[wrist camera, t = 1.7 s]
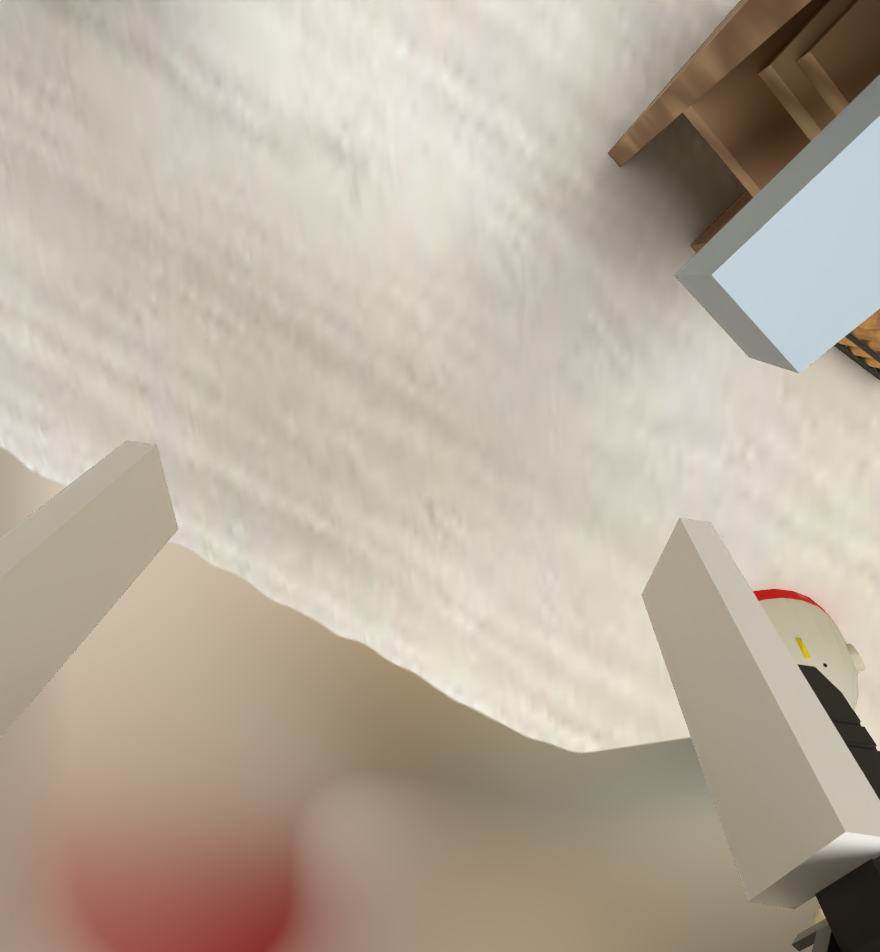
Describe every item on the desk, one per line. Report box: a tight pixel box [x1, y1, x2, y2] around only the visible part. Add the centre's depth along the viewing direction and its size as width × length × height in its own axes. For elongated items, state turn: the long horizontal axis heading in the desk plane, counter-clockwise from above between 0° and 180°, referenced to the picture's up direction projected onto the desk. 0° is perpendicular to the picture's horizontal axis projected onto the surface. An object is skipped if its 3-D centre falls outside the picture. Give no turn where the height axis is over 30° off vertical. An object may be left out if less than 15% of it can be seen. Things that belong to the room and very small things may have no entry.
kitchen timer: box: [753, 589, 864, 710], centre depth 49 cm, size 14×14×15 cm
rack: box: [608, 0, 880, 252], centre depth 24 cm, size 12×12×32 cm
